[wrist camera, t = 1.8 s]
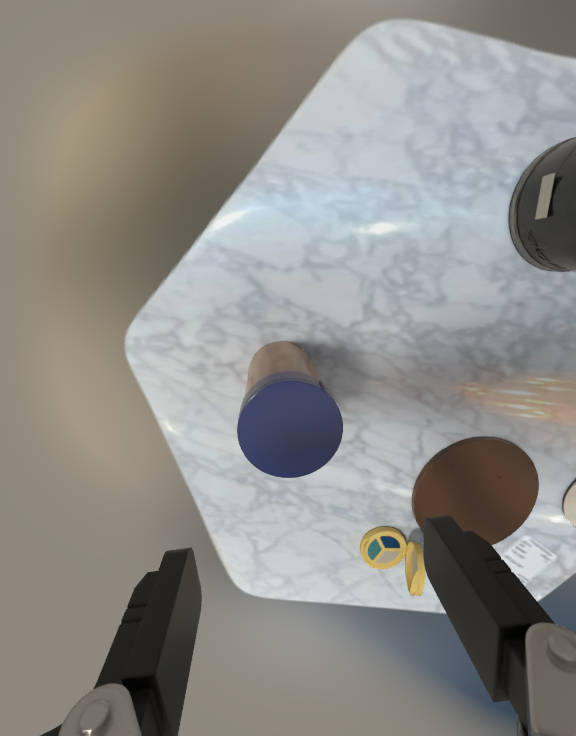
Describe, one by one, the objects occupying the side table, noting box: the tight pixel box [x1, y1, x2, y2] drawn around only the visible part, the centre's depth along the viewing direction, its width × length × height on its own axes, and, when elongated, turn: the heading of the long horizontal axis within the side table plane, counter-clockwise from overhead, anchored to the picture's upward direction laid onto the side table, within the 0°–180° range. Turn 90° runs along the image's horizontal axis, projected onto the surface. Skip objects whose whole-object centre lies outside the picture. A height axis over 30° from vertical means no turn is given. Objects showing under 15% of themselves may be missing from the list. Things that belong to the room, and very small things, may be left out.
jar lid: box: [237, 371, 343, 478], centre depth 21 cm, size 6×6×2 cm
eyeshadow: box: [360, 527, 425, 596], centre depth 33 cm, size 4×5×5 cm
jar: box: [245, 342, 321, 396], centre depth 25 cm, size 5×5×11 cm
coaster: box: [412, 437, 539, 545], centre depth 34 cm, size 12×12×1 cm
